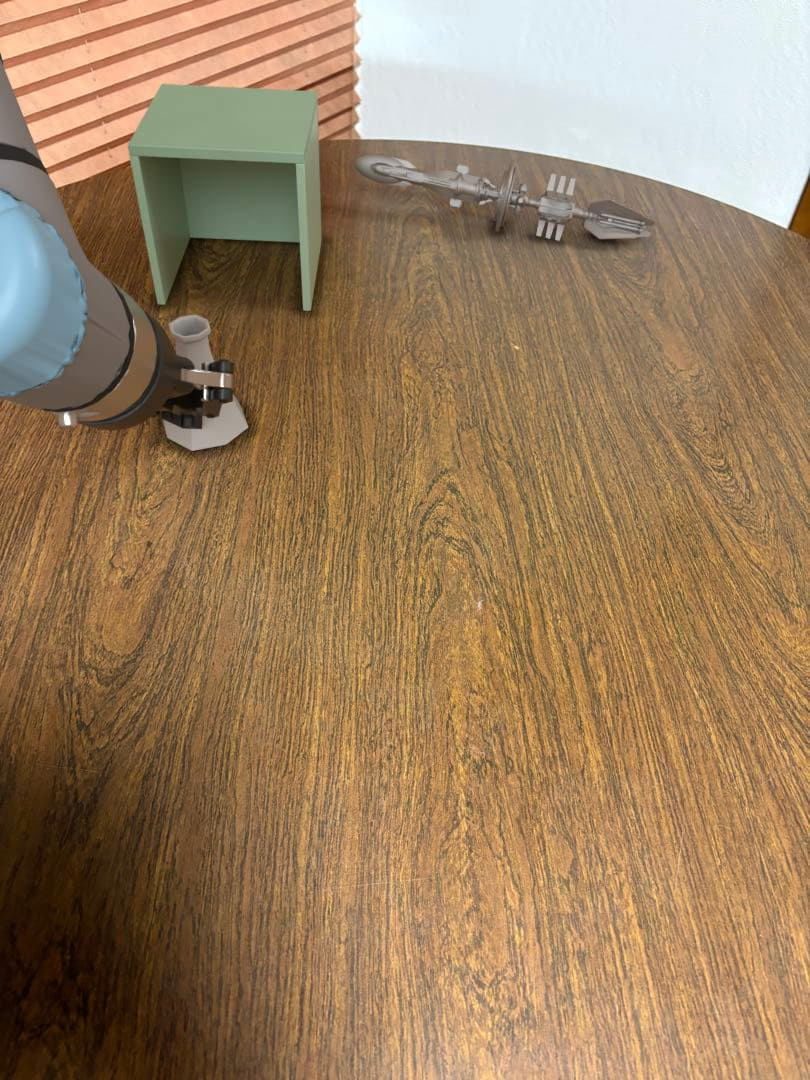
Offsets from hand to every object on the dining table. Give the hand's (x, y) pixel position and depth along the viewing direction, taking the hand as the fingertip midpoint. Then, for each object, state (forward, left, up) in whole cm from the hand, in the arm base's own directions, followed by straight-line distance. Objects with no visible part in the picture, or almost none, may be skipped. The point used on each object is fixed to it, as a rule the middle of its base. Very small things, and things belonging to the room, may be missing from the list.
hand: (192, 412), depth 70 cm
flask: (-1, +3, -4) cm, 5 cm away
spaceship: (+4, +50, -4) cm, 50 cm away
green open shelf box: (-15, +25, -4) cm, 29 cm away
